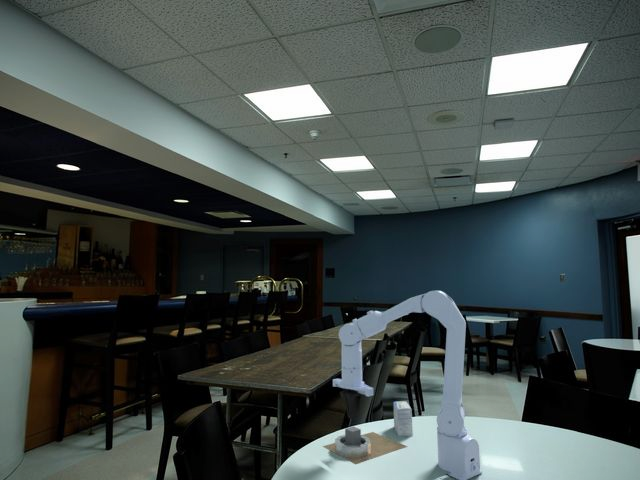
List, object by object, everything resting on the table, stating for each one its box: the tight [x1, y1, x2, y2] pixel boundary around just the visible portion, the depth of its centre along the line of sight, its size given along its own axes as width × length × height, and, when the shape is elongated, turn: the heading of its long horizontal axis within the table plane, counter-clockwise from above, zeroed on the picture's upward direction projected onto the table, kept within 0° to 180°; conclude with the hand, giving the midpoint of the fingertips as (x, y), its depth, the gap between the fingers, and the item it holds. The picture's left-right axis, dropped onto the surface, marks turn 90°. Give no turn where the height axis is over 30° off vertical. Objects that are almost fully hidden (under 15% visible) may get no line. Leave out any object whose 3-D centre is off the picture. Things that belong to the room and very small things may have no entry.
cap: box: [343, 426, 363, 446], centre depth 109 cm, size 6×6×6 cm
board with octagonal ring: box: [322, 431, 408, 465], centre depth 111 cm, size 14×19×3 cm
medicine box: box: [393, 400, 414, 437], centre depth 123 cm, size 8×4×9 cm, turn 179°
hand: (352, 418), depth 109 cm, fingers closed
